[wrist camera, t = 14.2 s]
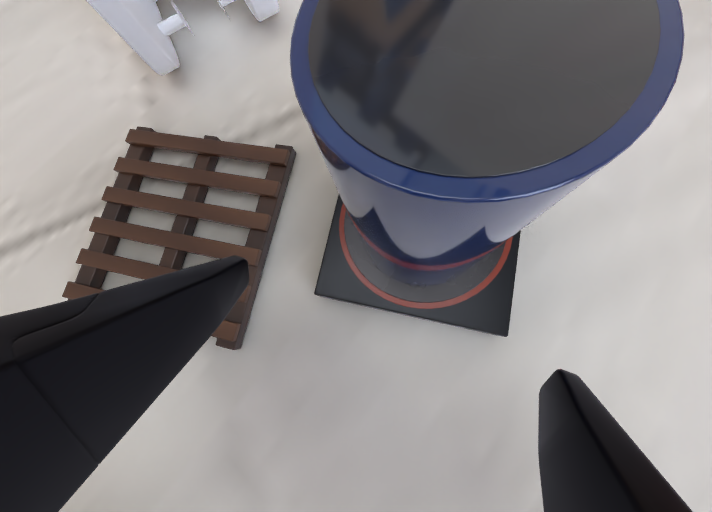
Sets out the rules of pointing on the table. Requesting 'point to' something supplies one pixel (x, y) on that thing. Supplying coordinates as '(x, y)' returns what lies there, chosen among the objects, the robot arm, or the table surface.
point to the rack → (186, 216)
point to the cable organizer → (159, 26)
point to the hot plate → (433, 303)
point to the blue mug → (473, 112)
